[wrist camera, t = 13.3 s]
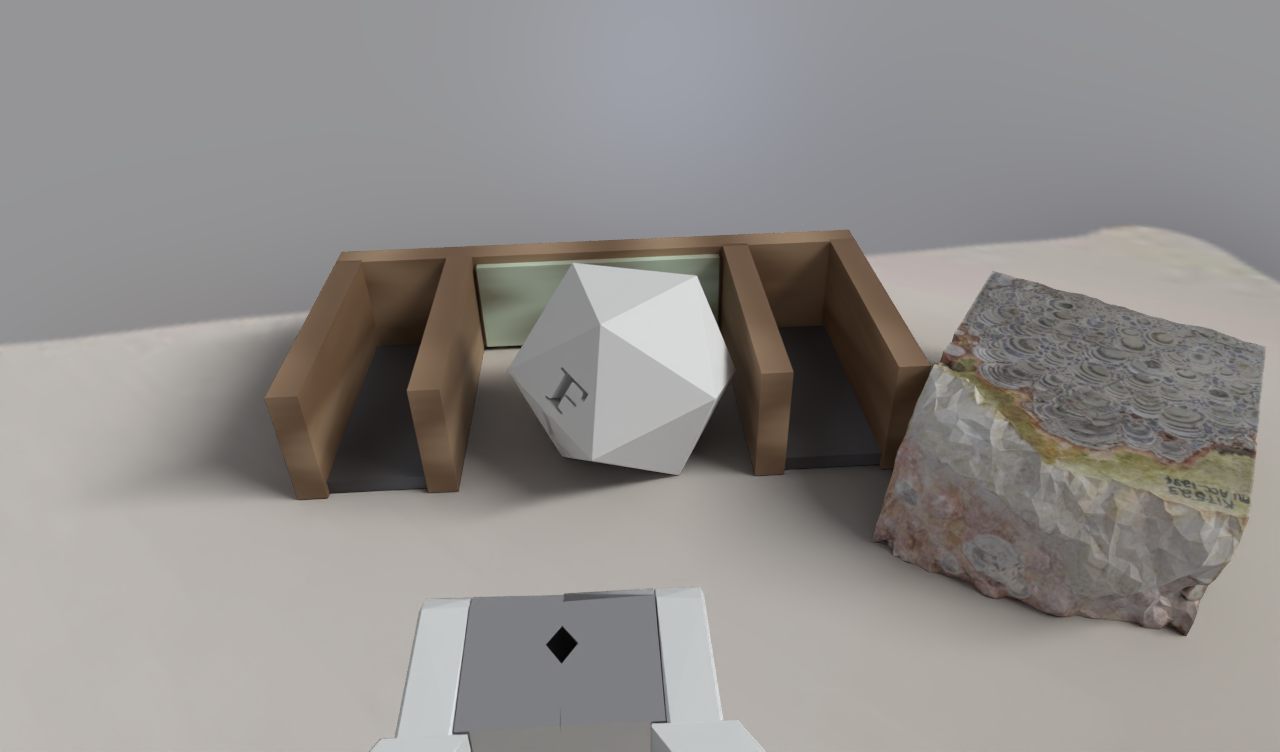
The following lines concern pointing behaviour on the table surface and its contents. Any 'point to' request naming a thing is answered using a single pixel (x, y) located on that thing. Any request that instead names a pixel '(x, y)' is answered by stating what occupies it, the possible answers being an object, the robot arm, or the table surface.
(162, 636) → the table surface
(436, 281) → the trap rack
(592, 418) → the die
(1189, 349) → the geological specimen
